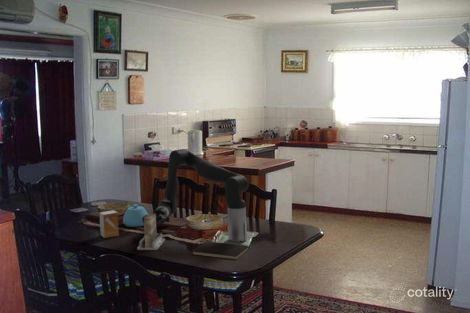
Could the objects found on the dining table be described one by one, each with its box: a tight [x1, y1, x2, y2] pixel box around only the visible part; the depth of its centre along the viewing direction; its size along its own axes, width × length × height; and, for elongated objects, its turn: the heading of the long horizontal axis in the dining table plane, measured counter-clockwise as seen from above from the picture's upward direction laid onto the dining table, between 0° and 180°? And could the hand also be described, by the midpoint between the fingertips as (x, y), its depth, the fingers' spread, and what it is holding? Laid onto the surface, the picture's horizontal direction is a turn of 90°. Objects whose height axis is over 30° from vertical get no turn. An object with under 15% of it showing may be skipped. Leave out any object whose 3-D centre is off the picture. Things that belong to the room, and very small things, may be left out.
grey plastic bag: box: [136, 232, 166, 251], centre depth 269 cm, size 10×16×4 cm, turn 174°
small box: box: [98, 210, 120, 239], centre depth 286 cm, size 8×6×13 cm
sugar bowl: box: [122, 204, 149, 228], centre depth 307 cm, size 15×15×12 cm
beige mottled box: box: [143, 212, 158, 246], centre depth 268 cm, size 4×10×14 cm, turn 175°
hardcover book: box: [191, 240, 250, 260], centre depth 256 cm, size 16×23×2 cm
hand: (153, 222), depth 273 cm, fingers open, 8 cm apart
